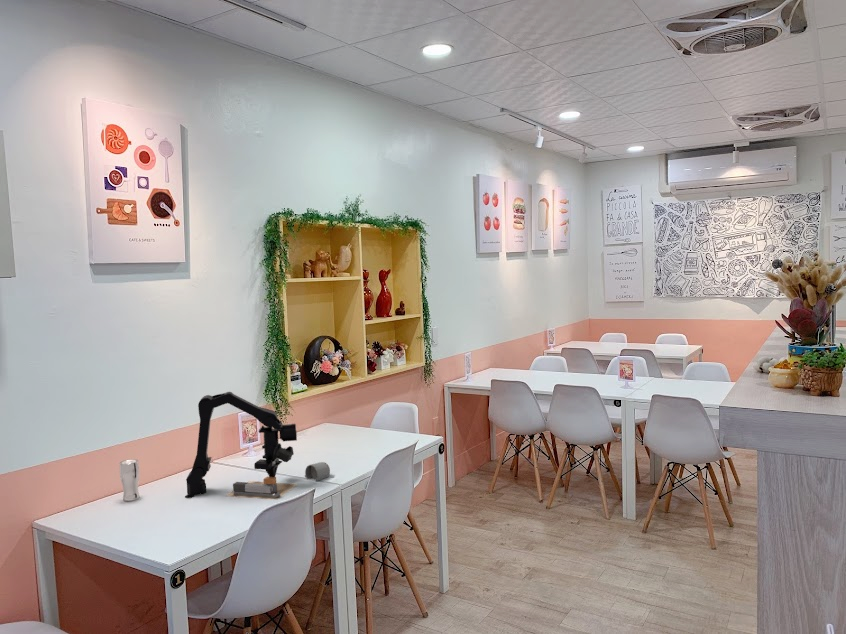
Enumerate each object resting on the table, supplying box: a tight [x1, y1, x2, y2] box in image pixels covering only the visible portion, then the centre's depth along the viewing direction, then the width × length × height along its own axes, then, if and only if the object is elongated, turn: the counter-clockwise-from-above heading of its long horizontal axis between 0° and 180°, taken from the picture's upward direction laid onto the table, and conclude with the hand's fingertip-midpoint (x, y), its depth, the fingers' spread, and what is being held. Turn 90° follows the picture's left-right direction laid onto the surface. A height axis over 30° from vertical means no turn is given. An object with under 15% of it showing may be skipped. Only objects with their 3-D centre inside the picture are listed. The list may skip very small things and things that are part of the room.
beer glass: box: [119, 458, 140, 503], centre depth 256 cm, size 7×7×15 cm
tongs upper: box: [232, 481, 273, 493], centre depth 252 cm, size 16×3×3 cm, turn 75°
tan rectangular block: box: [263, 476, 277, 484], centre depth 261 cm, size 4×3×4 cm
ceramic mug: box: [304, 461, 331, 482], centre depth 273 cm, size 11×8×8 cm
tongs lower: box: [232, 484, 281, 500], centre depth 252 cm, size 19×4×5 cm, turn 75°
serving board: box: [226, 480, 298, 501], centre depth 259 cm, size 22×18×1 cm
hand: (272, 479), depth 263 cm, fingers closed
